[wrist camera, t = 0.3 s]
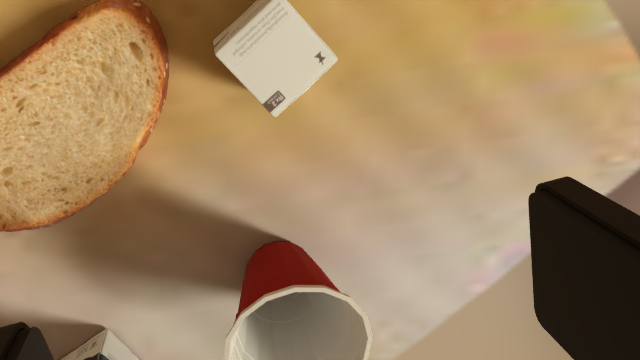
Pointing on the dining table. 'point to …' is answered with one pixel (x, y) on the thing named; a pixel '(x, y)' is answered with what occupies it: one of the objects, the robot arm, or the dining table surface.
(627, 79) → the dining table surface
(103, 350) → the tea box
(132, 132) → the bread slice
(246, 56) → the skincare box
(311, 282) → the plastic cup
